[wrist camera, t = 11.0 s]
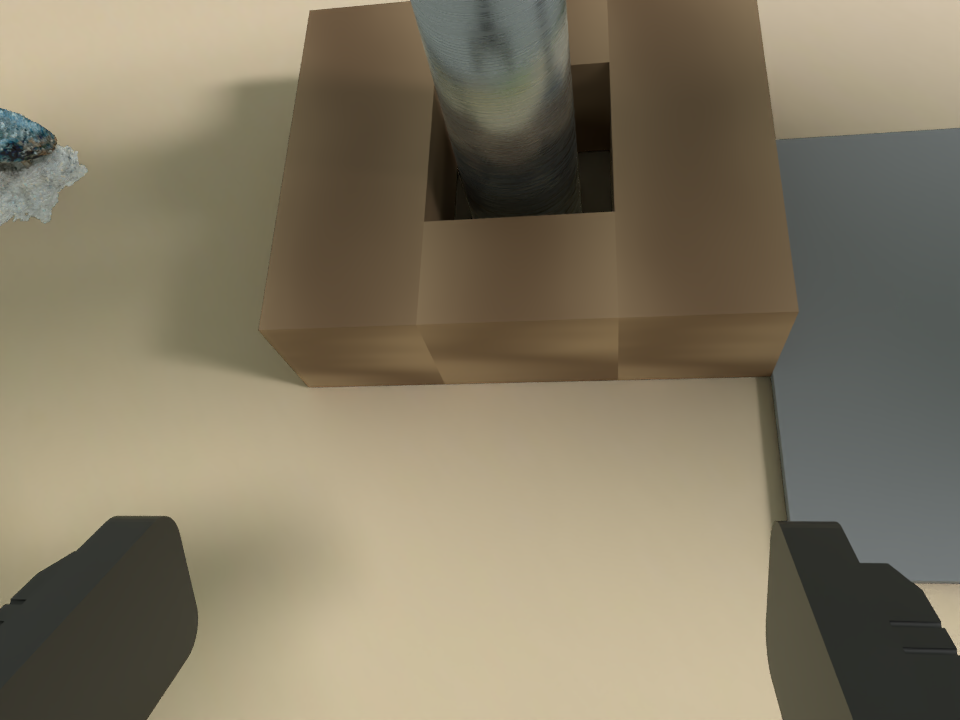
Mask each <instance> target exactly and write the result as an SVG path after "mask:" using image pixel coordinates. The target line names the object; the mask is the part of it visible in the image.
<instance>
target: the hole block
mask: <svg viewBox="0 0 960 720" xmlns="http://www.w3.org/2000/svg"><path fill="white" fill-rule="evenodd" d="M566 7H567V21H568V34H569V48H570V61H571V75H572V88H573V102H574V115H575V129H576V142H577V152H586V151H602V150H610V160H611V190H612V212H596V213H578V214H559V215H540V216H521V217H502V218H483V219H465V220H454V217H455V199H456V182H457V162H456V159H455V155H454V152H453V148H452V145H451V141H450V138H449V134H448V131H447V127H446V124H445V120H444V117H443V113H442V110H441V106H440V103H439V99H438V96H437V92H436V89H435V85H434V82H433V78H432V75H431V71H430V68H429V64H428V61H427V57H426V54H425V50H424V47H423V43H422V40H421V36H420V33H419V29H418V26H417V22H416V19H415V15H414V12H413V8H412V5H411V1H407V2H396V3H386V4H375V5H364V6H354V7H343V8H332V9H322V10H311V11H310V12H309V18H308V25H307V31H306V37H305V43H304V49H303V56H302V62H301V68H300V74H299V80H298V87H297V93H296V99H295V105H294V112H293V118H292V124H291V130H290V136H289V143H288V149H287V155H286V161H285V168H284V174H283V180H282V186H281V192H280V199H279V205H278V211H277V217H276V223H275V230H274V236H273V242H272V248H271V255H270V261H269V267H268V273H267V279H266V286H265V292H264V298H263V304H262V311H261V317H260V323H259V329H258V330H259V331H260V333H261V334H262V335H263V336H264V337H265V338H266V339H267V341H268V342H269V343H270V344H271V345H272V346H273V347H274V349H275V350H276V351H277V352H278V353H279V354H280V355H281V357H282V358H283V359H284V360H285V361H286V362H287V363H288V364H289V366H290V367H291V368H292V369H293V370H294V371H295V372H296V374H297V375H298V376H299V377H300V378H301V379H302V380H303V382H304V383H305V384H306V385H307V386H308V387H338V386H381V385H424V384H467V383H509V382H552V381H595V380H638V379H680V378H723V377H766V376H771V375H772V373H773V370H774V368H775V366H776V363H777V361H778V359H779V356H780V354H781V352H782V349H783V347H784V345H785V343H786V340H787V338H788V336H789V333H790V331H791V329H792V326H793V324H794V322H795V319H796V317H797V315H798V313H799V309H798V301H797V294H796V286H795V279H794V272H793V264H792V257H791V250H790V242H789V235H788V227H787V220H786V213H785V205H784V198H783V190H782V183H781V176H780V168H779V161H778V153H777V146H776V139H775V131H774V124H773V116H772V109H771V102H770V94H769V87H768V79H767V72H766V65H765V57H764V50H763V42H762V35H761V28H760V20H759V13H758V5H757V0H566Z"/></svg>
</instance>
